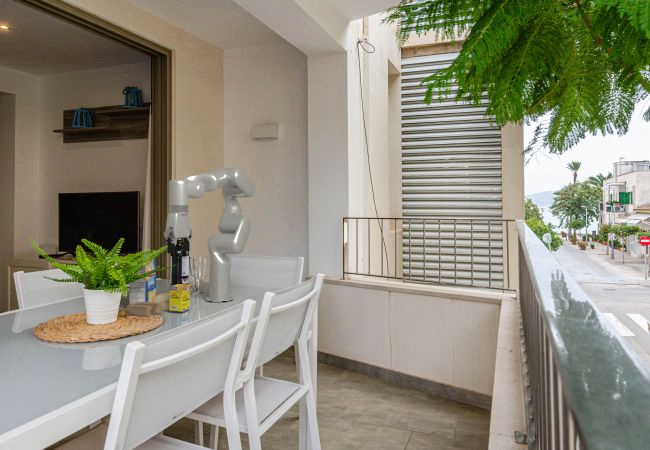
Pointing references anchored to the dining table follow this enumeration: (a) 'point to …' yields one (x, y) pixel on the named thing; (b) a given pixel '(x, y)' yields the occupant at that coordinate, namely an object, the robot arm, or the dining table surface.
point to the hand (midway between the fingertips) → (178, 252)
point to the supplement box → (179, 298)
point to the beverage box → (144, 286)
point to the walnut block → (144, 309)
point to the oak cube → (164, 300)
